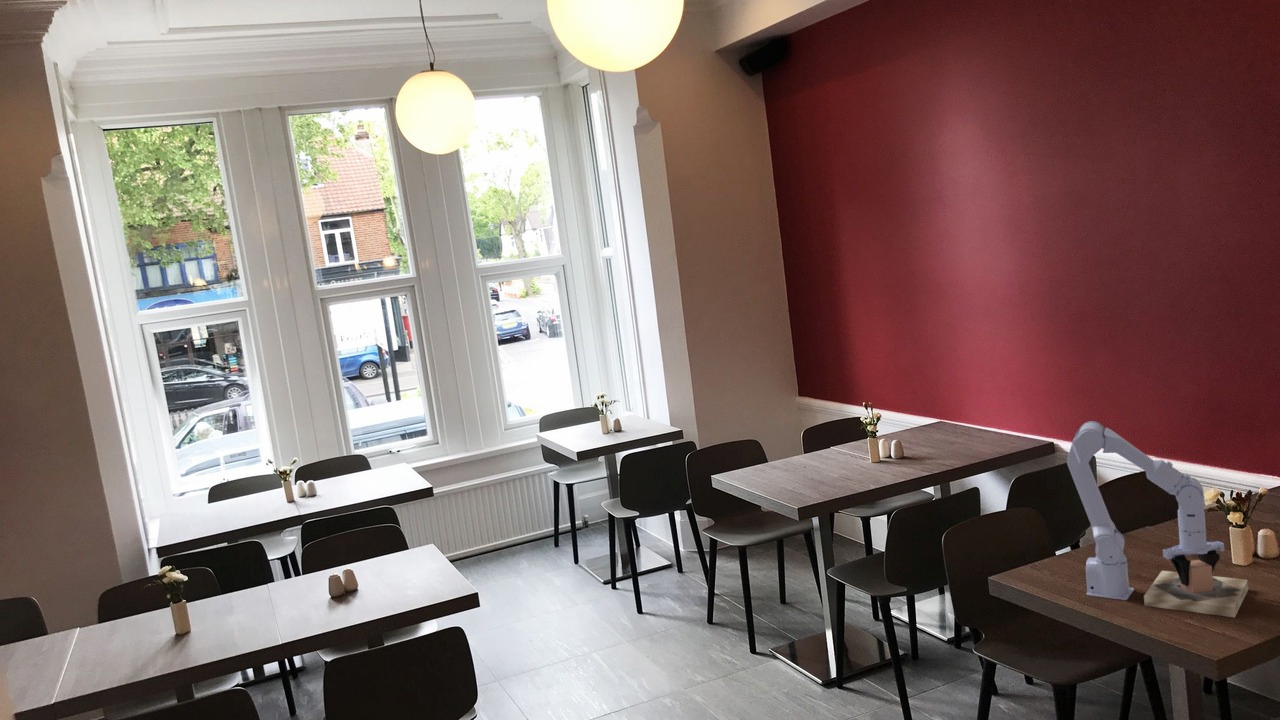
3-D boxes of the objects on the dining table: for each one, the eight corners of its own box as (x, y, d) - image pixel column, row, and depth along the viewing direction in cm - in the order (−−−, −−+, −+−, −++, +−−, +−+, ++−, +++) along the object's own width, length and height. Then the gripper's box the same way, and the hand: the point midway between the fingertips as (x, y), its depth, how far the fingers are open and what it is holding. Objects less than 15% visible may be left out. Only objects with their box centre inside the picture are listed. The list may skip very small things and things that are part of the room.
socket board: (1144, 605, 234) (1143, 596, 233) (1162, 579, 248) (1161, 570, 248) (1234, 617, 221) (1234, 607, 221) (1248, 589, 235) (1247, 579, 235)
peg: (1193, 600, 232) (1191, 568, 231) (1180, 593, 237) (1179, 562, 236) (1213, 597, 232) (1211, 566, 231) (1200, 590, 237) (1198, 559, 236)
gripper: (1174, 538, 228) (1177, 592, 230) (1231, 529, 229) (1235, 583, 231) (1156, 529, 235) (1159, 582, 237) (1211, 521, 236) (1215, 574, 238)
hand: (1195, 582), depth 234 cm, fingers closed on peg, 5 cm apart
